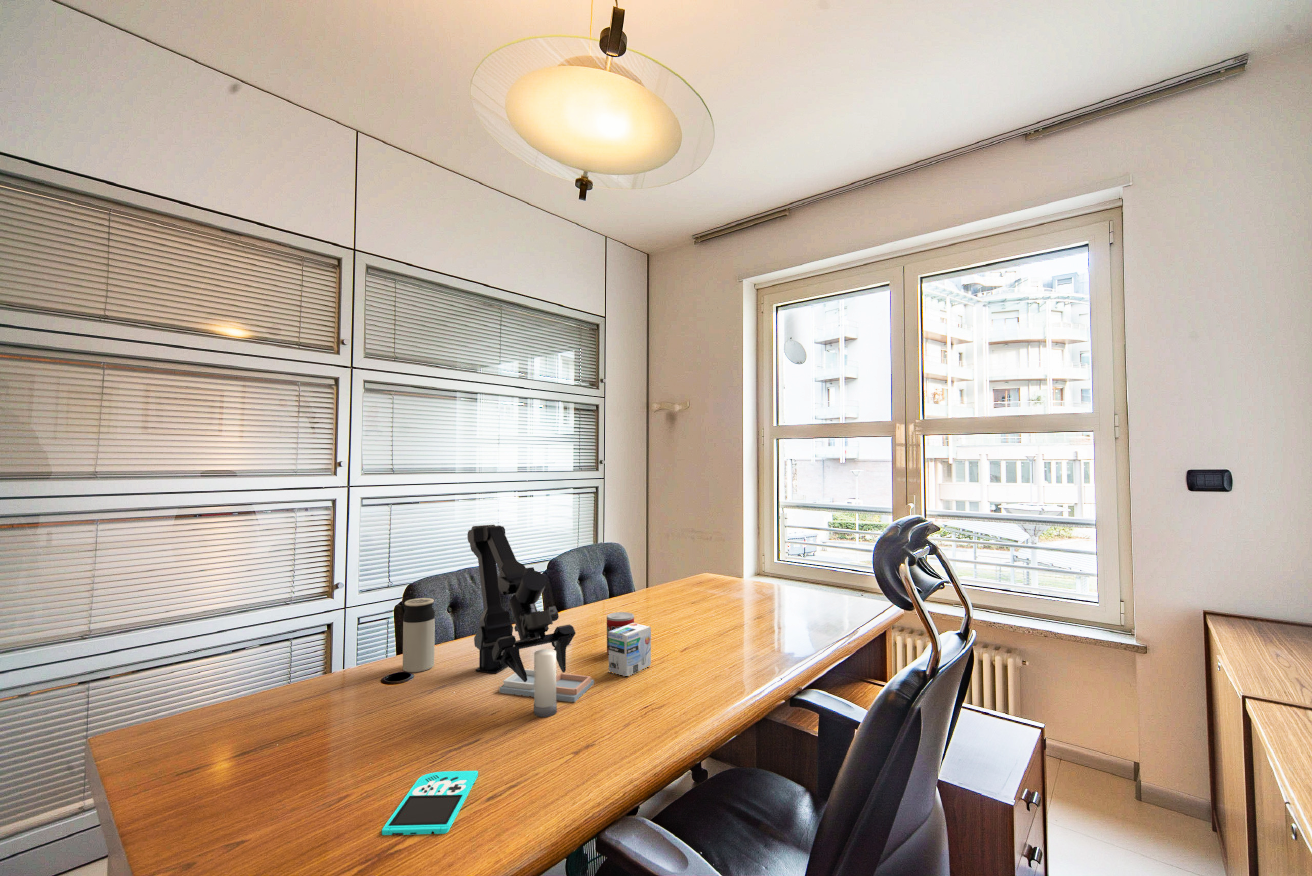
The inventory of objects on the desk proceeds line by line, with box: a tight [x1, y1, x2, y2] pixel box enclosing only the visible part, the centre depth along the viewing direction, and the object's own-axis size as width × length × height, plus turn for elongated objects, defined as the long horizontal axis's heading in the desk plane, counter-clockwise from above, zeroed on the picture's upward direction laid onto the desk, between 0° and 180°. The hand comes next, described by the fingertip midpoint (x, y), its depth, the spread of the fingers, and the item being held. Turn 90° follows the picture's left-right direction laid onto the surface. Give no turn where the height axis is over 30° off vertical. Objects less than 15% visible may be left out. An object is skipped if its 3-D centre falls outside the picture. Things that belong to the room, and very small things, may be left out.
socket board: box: [498, 668, 595, 703], centre depth 137 cm, size 20×11×2 cm, turn 72°
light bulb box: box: [608, 622, 652, 677], centre depth 150 cm, size 11×7×11 cm, turn 143°
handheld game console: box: [381, 770, 479, 836], centre depth 90 cm, size 10×16×1 cm, turn 1°
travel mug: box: [402, 597, 436, 673], centre depth 152 cm, size 8×8×18 cm
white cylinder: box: [533, 648, 558, 718], centre depth 124 cm, size 5×5×13 cm
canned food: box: [606, 611, 635, 655], centre depth 162 cm, size 8×8×11 cm
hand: (545, 676), depth 124 cm, fingers open, 9 cm apart
